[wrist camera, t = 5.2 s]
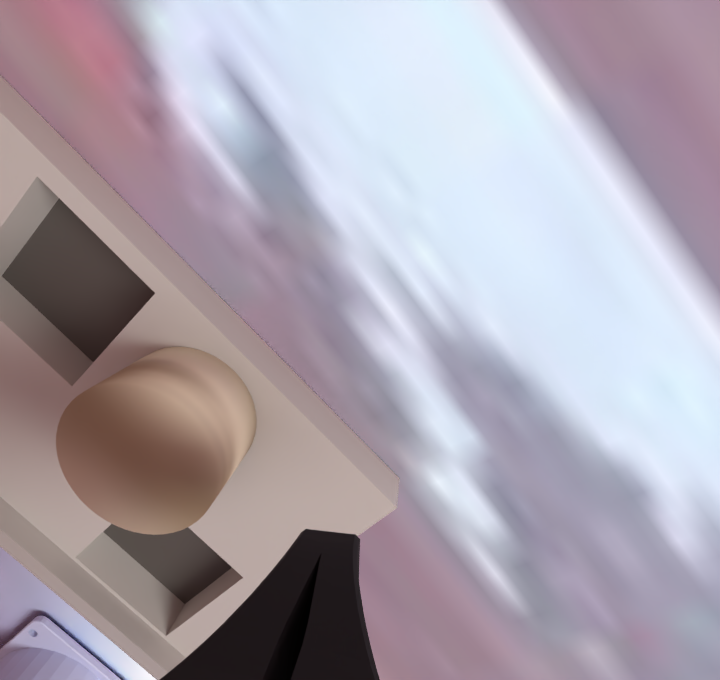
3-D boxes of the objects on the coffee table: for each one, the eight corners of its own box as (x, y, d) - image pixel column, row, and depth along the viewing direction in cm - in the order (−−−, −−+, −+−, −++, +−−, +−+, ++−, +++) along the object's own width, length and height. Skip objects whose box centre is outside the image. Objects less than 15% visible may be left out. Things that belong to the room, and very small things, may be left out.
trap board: (196, 629, 24) (159, 698, 21) (-195, 285, 21) (-311, 301, 18) (399, 478, 20) (394, 534, 17) (-48, 27, 17) (-162, -15, 14)
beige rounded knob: (195, 498, 19) (147, 561, 16) (96, 404, 18) (25, 450, 15) (285, 422, 18) (253, 475, 14) (181, 317, 17) (122, 347, 14)
